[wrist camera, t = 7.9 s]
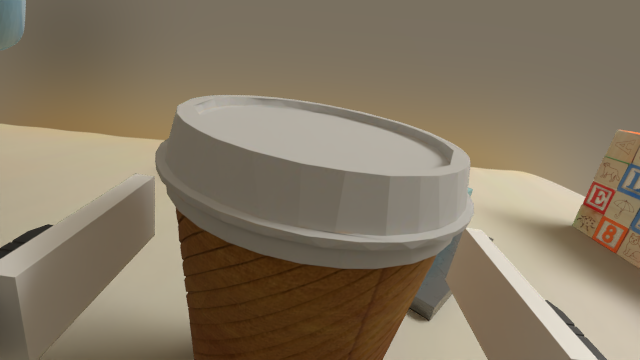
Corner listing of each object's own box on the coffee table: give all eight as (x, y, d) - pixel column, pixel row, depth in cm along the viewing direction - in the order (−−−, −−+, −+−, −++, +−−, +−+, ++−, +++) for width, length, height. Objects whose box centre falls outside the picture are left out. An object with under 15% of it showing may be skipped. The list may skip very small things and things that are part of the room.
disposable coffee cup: (208, 301, 19) (223, 84, 15) (374, 331, 19) (436, 123, 15) (92, 517, 10) (49, 125, 6) (404, 572, 10) (579, 222, 6)
